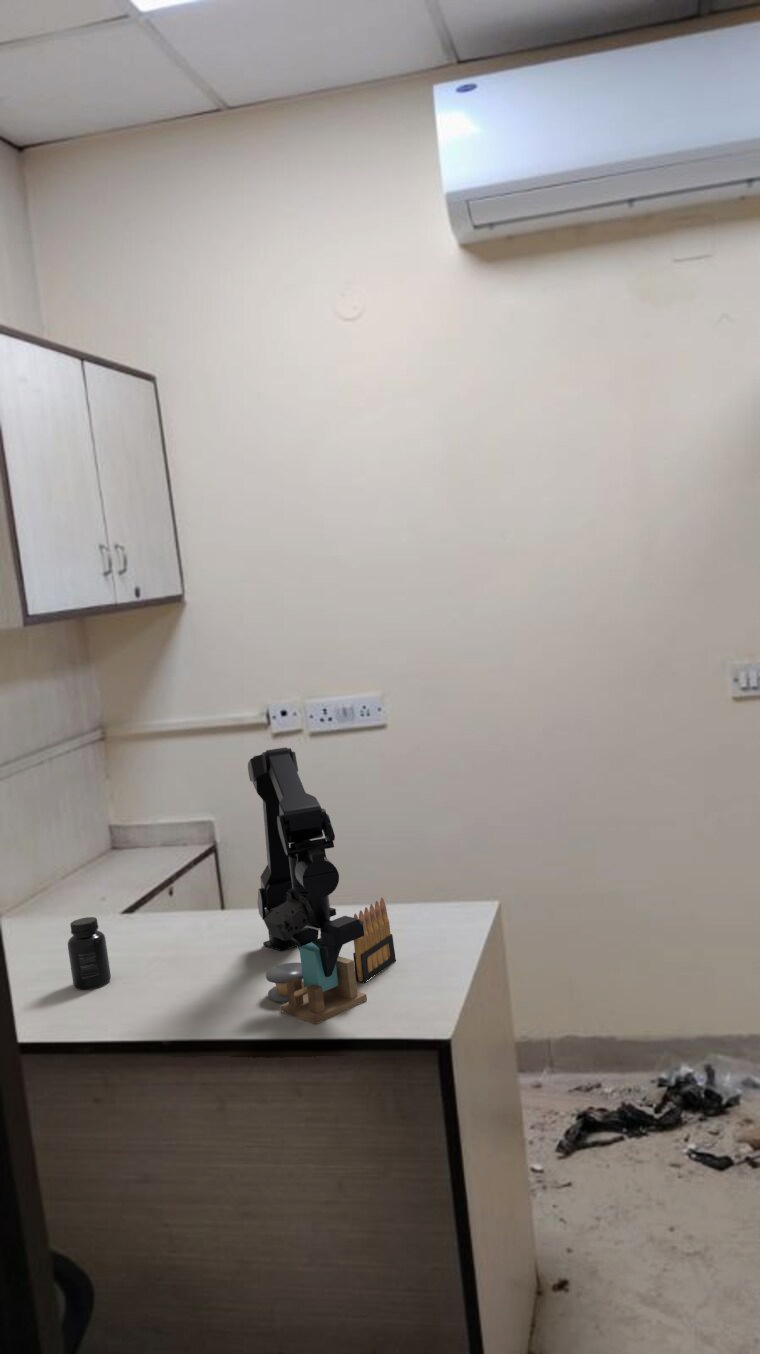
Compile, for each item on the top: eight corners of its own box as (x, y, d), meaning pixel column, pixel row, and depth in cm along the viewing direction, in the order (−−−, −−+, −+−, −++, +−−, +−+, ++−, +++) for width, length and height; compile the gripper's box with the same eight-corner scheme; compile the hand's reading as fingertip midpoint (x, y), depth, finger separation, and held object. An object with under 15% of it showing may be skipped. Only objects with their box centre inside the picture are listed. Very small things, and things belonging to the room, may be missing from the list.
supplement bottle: (118, 976, 193) (110, 914, 192) (97, 991, 187) (88, 927, 186) (87, 976, 196) (79, 914, 195) (65, 990, 189) (56, 927, 188)
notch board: (280, 1011, 169) (275, 969, 168) (332, 988, 176) (327, 948, 176) (315, 1024, 162) (310, 981, 162) (367, 1000, 170) (362, 958, 169)
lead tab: (287, 995, 167) (282, 953, 166) (322, 980, 172) (318, 939, 171) (302, 1001, 164) (297, 958, 163) (338, 985, 169) (333, 944, 168)
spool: (259, 996, 176) (256, 973, 176) (294, 981, 181) (291, 959, 181) (286, 1006, 171) (283, 983, 170) (321, 990, 176) (319, 968, 175)
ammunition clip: (364, 983, 177) (356, 915, 176) (355, 982, 178) (347, 914, 177) (396, 960, 186) (389, 896, 185) (387, 959, 187) (380, 895, 186)
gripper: (235, 886, 169) (246, 978, 170) (306, 904, 155) (318, 1004, 157) (289, 868, 177) (299, 956, 178) (361, 883, 163) (372, 979, 164)
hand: (320, 973), depth 169 cm, fingers closed on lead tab, 4 cm apart
